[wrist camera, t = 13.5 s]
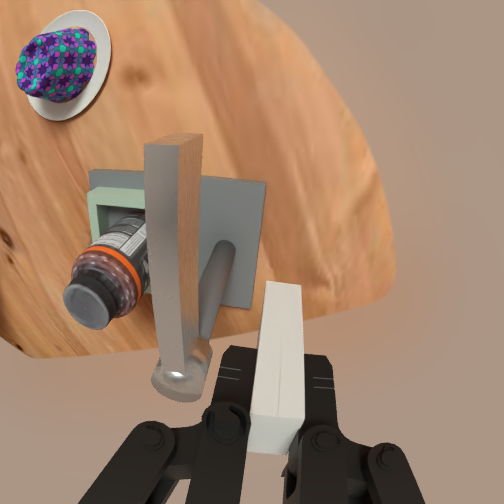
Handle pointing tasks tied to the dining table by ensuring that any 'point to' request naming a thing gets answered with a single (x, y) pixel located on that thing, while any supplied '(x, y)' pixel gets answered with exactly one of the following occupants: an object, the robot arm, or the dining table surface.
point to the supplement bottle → (110, 274)
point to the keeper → (175, 262)
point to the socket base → (210, 233)
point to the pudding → (64, 65)
